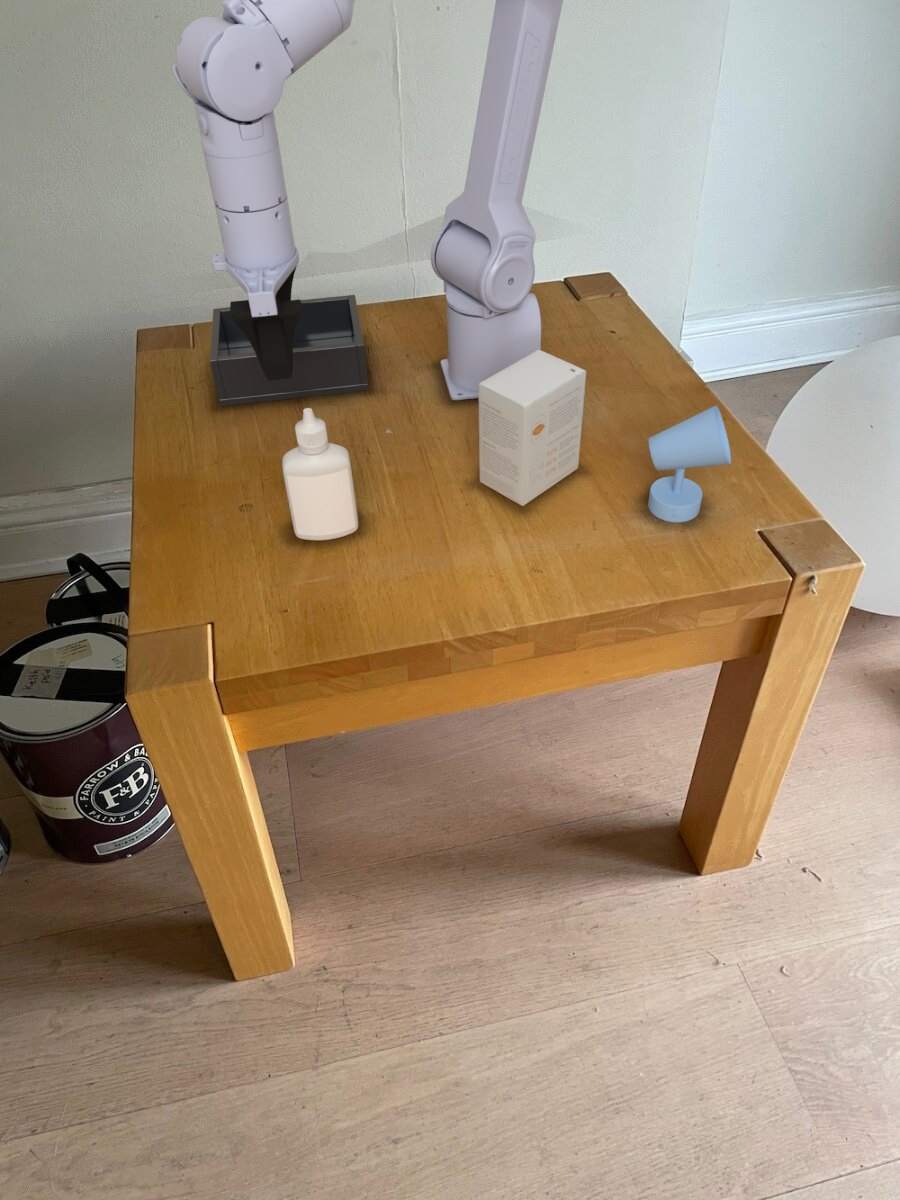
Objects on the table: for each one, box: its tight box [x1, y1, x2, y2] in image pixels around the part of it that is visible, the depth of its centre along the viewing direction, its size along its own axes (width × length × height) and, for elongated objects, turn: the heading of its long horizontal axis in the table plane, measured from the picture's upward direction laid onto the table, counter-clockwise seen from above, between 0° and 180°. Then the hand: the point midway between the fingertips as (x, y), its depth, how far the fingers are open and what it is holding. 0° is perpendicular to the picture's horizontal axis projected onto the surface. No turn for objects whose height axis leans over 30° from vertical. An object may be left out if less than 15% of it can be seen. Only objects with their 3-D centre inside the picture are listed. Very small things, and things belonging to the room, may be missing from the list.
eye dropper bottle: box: [281, 407, 359, 541], centre depth 74 cm, size 4×6×12 cm
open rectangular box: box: [209, 294, 370, 407], centre depth 96 cm, size 16×12×5 cm
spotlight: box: [647, 405, 732, 523], centre depth 75 cm, size 5×10×7 cm
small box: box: [478, 350, 587, 507], centre depth 79 cm, size 8×6×10 cm
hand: (279, 355), depth 79 cm, fingers open, 7 cm apart
